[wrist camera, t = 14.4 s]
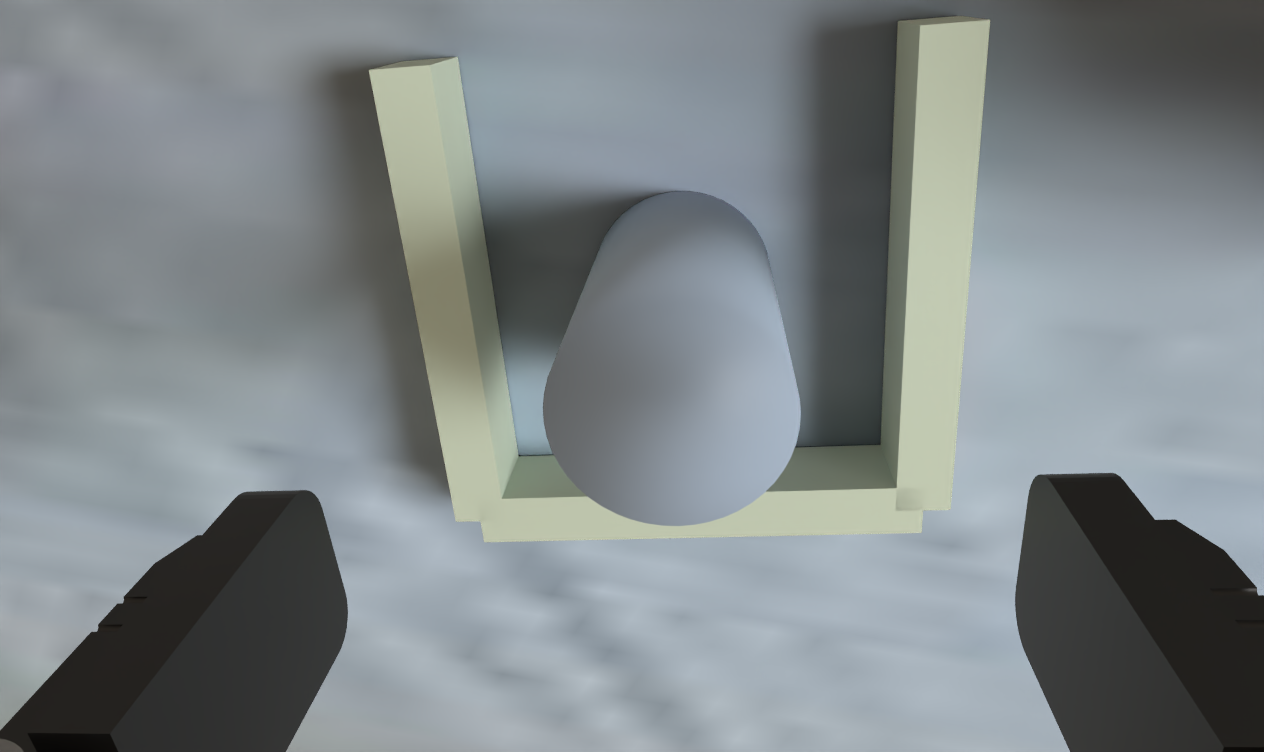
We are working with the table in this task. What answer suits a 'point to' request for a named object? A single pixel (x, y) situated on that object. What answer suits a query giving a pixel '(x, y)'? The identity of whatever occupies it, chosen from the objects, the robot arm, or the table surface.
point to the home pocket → (815, 476)
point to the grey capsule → (675, 368)
